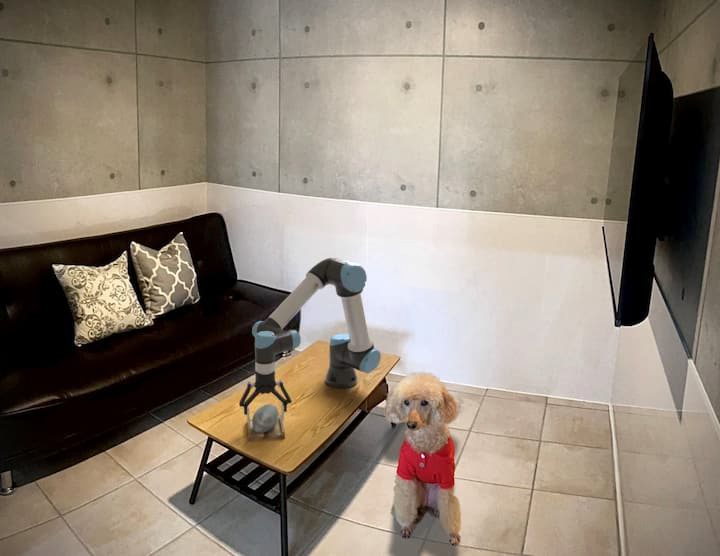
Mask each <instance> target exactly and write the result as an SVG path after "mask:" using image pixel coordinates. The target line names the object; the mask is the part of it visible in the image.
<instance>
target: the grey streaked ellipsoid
mask: <svg viewBox="0 0 720 556" xmlns="http://www.w3.org/2000/svg"><path fill="white" fill-rule="evenodd" d="M278 418H279V410H278V408H277V407H276V406H275V405H273V404H271V403H269V404H268V403H267V404H264V405H263V406H261V407H259V408H257V410H256V411H255V412H254V414H253V416H252V419H251V420H252V425H253V429H254V430H255V431H256V432H258V433H264V432H267V431H269V430H271V429H272V428H273V427H274V426H275V425H276V423H277V421H278Z"/></svg>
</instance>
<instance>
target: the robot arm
mask: <svg viewBox="0 0 720 556" xmlns="http://www.w3.org/2000/svg"><path fill="white" fill-rule="evenodd" d="M366 272H367V271H366V270H365V268H364V267H363V266H361V265H360V264H358V263H356V262H354V261H347V260H343V259H341V258H339V257H329V258H325V259H323V260H320V261H319V262H318V263H316V264H315V265H313V266H312V267H311V268H310V269H309V270H308V271H307V272H306V273H305V278H304V279H303V280H302V281H301V282H299V284H298V285H297V286H296V287H295V288H294V290H292V292H291V293H289V295H287V297H286V298H285V299H284V300H283V301H282V302H281V303H280V304H279V306H278V307H276V309H275V310H274V311H273V312H272V313H271V314H270V315H269V316H268V317H267V318H266V319H265V320H264V321H263V320H259V321H256V322H255V323H254V324H253V326H252V328H251V329H252V330H251V333H252V336H253V337H254V357H255V358H254V359H255V360H254V361H255V362H254V363H255V367H254V368H255V375H254V376H255V381H254V382H250V381H248V382H247V385H246V388H245V391H244V392H243V394H242V397H241V398H240V400H239V402H238V403H239V405H238V406H239V407H243V414H244V416H246V423H249V417H250V404H251V403H252V402H253V401H254V400H255V399H256V397H257V396H259V395H260V394H261V395H264V394H267V395H268V394H270V393H271V394H273V395H274V396H275V397H276V398H277V399H278V400H279V401H280V403H281V415H282V421H283V422H284V421H285V413H286V412H287V411H288V409H287V407H288V405H289V404H292V399H291V396H290V395H289V393H288V391H287V389H286V387H285V386H284V381H283V380H282V379H280V380H279V381H276V370H275V369H276V355H277V354H281V353H284V352H285V353H286V352H288V351H292V350H294V349H297V348H299V347H300V345H301V341H302V340H301V336H300V333H299V332H298V331H297V330H296V329H288V330H284V328H285V327H286V325H288V324H289V322H291V320H292V319H293V318H294V317H295V316H296V315H297V314H298V312H299V311H300V310H301V309H302V308H303V307H304V306H305V305H306V304H307V303H308V302H309V301H310V300H311V299H312V298H313V297H314V295H315V294H316V293H317V292H318V291H319V290H323V289H324V288H325V286H327V285H331V286H333V287H334V288H335V293H336V295H337V297H340V299H341V304H342V308H343V314H344V319H345V322H346V328H347V332H348V333H339V334H335V335H332V337H330V339H329V345H328V346H329V366H328V369H327V372H326V374H325V377H324V378H325V380H324V381H325V383H326V384H327V385H328V386H330V387H333V388H335V389H347V388H352V387H354V386H356V384H357V382H358V376H357V372H356V370H357V371H359V372H361V373H365V374H370V373H373V372H374V371H375V370H376V369H377V368H378V367H379V364H380V362H381V358H382V355H381V351H380V350H379V349H377V348H375V347H374V346H375V345H374V341H373V339H372V338H370V336H369V331H368V327H367V320H366V315H365V310H364V305H363V299H362V293H363V291H364V288H365V286H366V282H367V277H368V276H367V273H366ZM276 386H277V387H278V388H280V391H281V392H282V394H283V395H284V396H283V395H282V394H280V392H279V391H278V390H277V389H276V388H275V387H276ZM253 387H254V388H255V389H254V391H253V392H252V393H251V392H250V391H251V390H252V389H253ZM250 393H251V394H250ZM249 394H250V395H249ZM248 396H249V397H248ZM284 397H285V398H284Z"/></svg>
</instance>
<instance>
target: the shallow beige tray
mask: <svg viewBox="0 0 720 556" xmlns="http://www.w3.org/2000/svg"><path fill="white" fill-rule="evenodd" d="M252 420H253V419H251V418H250V416H249V423H247V422H246V423H247V438H248V442H255V441H267V440H270V441H271V440H281V439H285V438H286V436H285V435H286V433H285V427H284V420H283V421H282V414H281V415H279V416H278V421H277V423H276V425H275V426H274V427H273V428H272V429H271V430H269V431H267V432H264V433H258V432H256V431H255V430H254V429H253V425H252Z"/></svg>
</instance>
